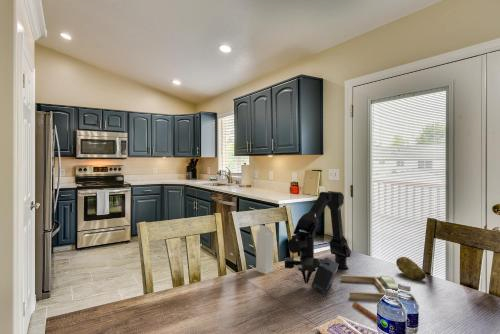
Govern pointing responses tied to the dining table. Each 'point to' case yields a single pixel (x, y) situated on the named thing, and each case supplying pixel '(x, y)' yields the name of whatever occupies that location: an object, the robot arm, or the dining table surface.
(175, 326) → the dining table surface
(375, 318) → the chocolate bar
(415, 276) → the potato
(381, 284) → the light tan flat part
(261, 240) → the milk
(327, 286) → the small box
